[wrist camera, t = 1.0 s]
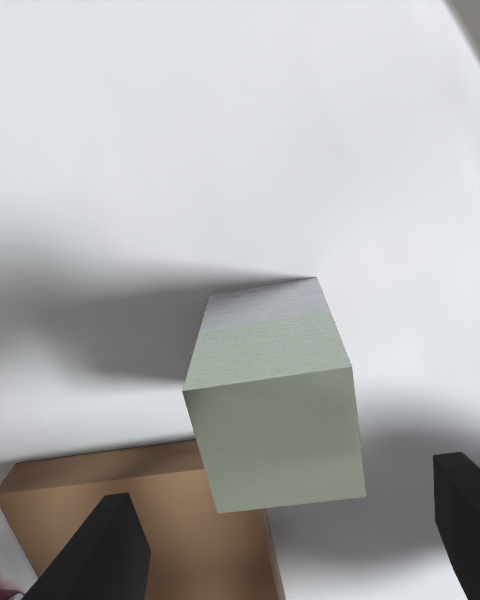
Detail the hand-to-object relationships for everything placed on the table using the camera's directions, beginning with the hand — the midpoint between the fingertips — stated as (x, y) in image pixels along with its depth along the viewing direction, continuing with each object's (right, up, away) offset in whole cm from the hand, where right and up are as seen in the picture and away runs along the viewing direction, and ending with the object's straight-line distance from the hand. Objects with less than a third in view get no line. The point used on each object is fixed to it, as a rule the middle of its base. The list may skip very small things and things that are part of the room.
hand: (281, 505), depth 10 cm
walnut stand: (-5, -8, +13) cm, 16 cm away
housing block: (0, +3, +8) cm, 9 cm away
